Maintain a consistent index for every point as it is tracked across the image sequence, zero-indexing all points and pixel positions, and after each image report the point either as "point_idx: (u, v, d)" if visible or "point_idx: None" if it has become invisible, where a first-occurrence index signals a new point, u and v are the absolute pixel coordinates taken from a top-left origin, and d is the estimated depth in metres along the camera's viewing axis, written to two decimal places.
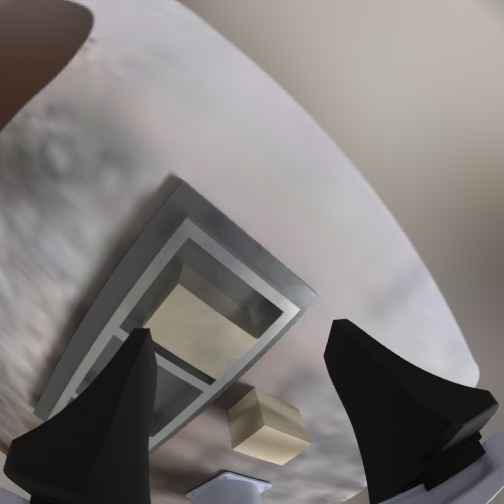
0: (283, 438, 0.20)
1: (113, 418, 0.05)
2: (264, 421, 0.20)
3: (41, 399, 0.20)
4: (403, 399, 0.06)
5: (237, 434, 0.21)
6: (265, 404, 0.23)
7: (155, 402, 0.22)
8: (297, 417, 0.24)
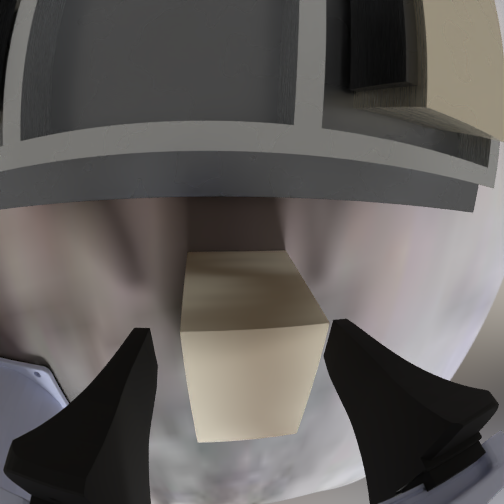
0: (294, 387, 0.09)
1: (113, 418, 0.05)
2: (324, 316, 0.08)
3: None
4: (403, 399, 0.06)
5: (212, 304, 0.08)
6: None
7: (115, 87, 0.08)
8: None
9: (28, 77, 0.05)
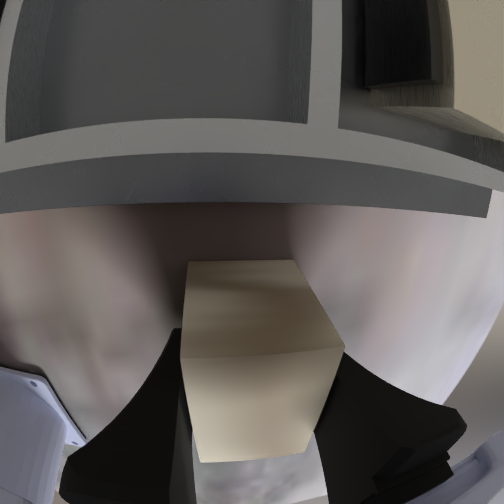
0: (304, 410, 0.08)
1: (176, 422, 0.06)
2: (339, 338, 0.07)
3: None
4: (356, 413, 0.06)
5: (215, 325, 0.07)
6: None
7: (109, 82, 0.07)
8: None
9: (14, 73, 0.05)
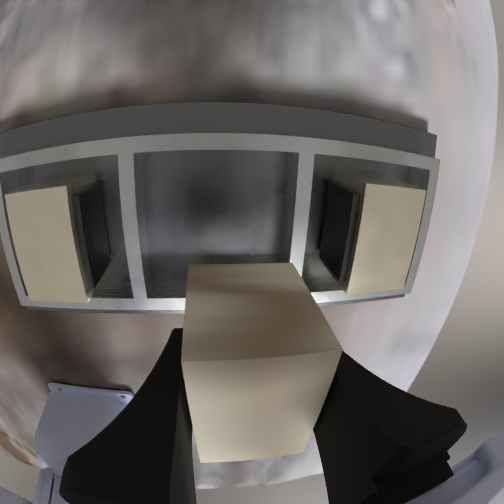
0: (303, 411, 0.08)
1: (176, 422, 0.06)
2: (337, 341, 0.07)
3: (34, 125, 0.12)
4: (356, 413, 0.06)
5: (216, 328, 0.07)
6: None
7: (191, 260, 0.17)
8: None
9: (143, 263, 0.15)
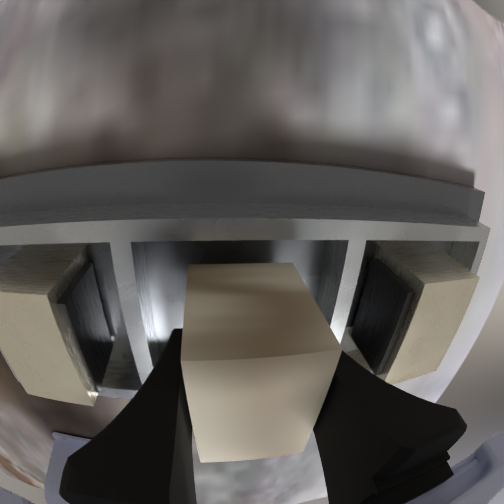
0: (303, 411, 0.08)
1: (176, 422, 0.06)
2: (336, 341, 0.07)
3: (4, 182, 0.09)
4: (356, 413, 0.06)
5: (215, 328, 0.07)
6: None
7: None
8: None
9: (152, 358, 0.12)
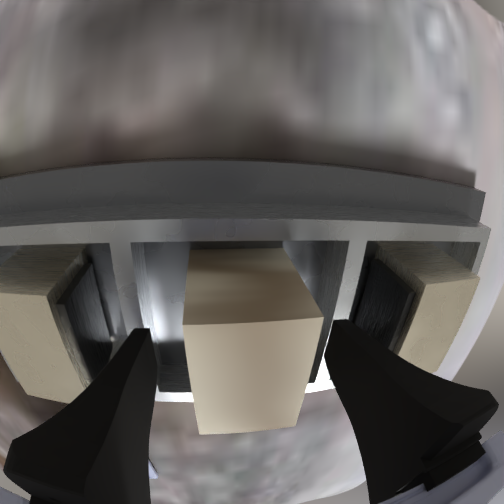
0: (292, 379, 0.09)
1: (113, 418, 0.05)
2: (319, 311, 0.09)
3: (3, 182, 0.09)
4: (403, 399, 0.06)
5: (212, 300, 0.09)
6: None
7: None
8: None
9: None
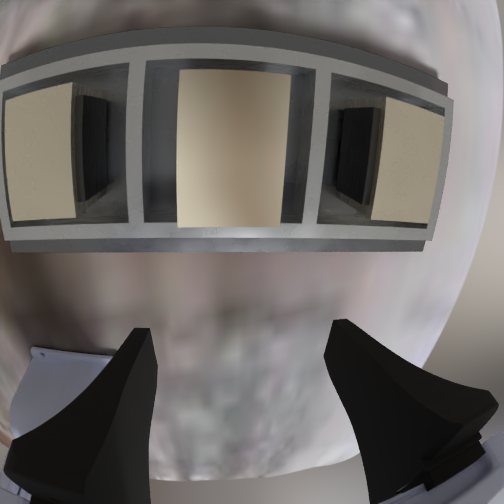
0: (270, 141, 0.10)
1: (113, 418, 0.05)
2: (288, 78, 0.09)
3: (45, 51, 0.10)
4: (403, 399, 0.06)
5: None
6: None
7: None
8: None
9: (143, 180, 0.13)
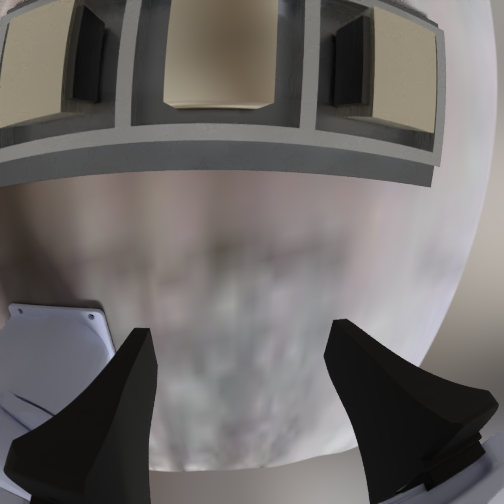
0: (261, 22, 0.08)
1: (113, 418, 0.05)
2: None
3: None
4: (403, 399, 0.06)
5: None
6: None
7: None
8: None
9: (133, 85, 0.11)
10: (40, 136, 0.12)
